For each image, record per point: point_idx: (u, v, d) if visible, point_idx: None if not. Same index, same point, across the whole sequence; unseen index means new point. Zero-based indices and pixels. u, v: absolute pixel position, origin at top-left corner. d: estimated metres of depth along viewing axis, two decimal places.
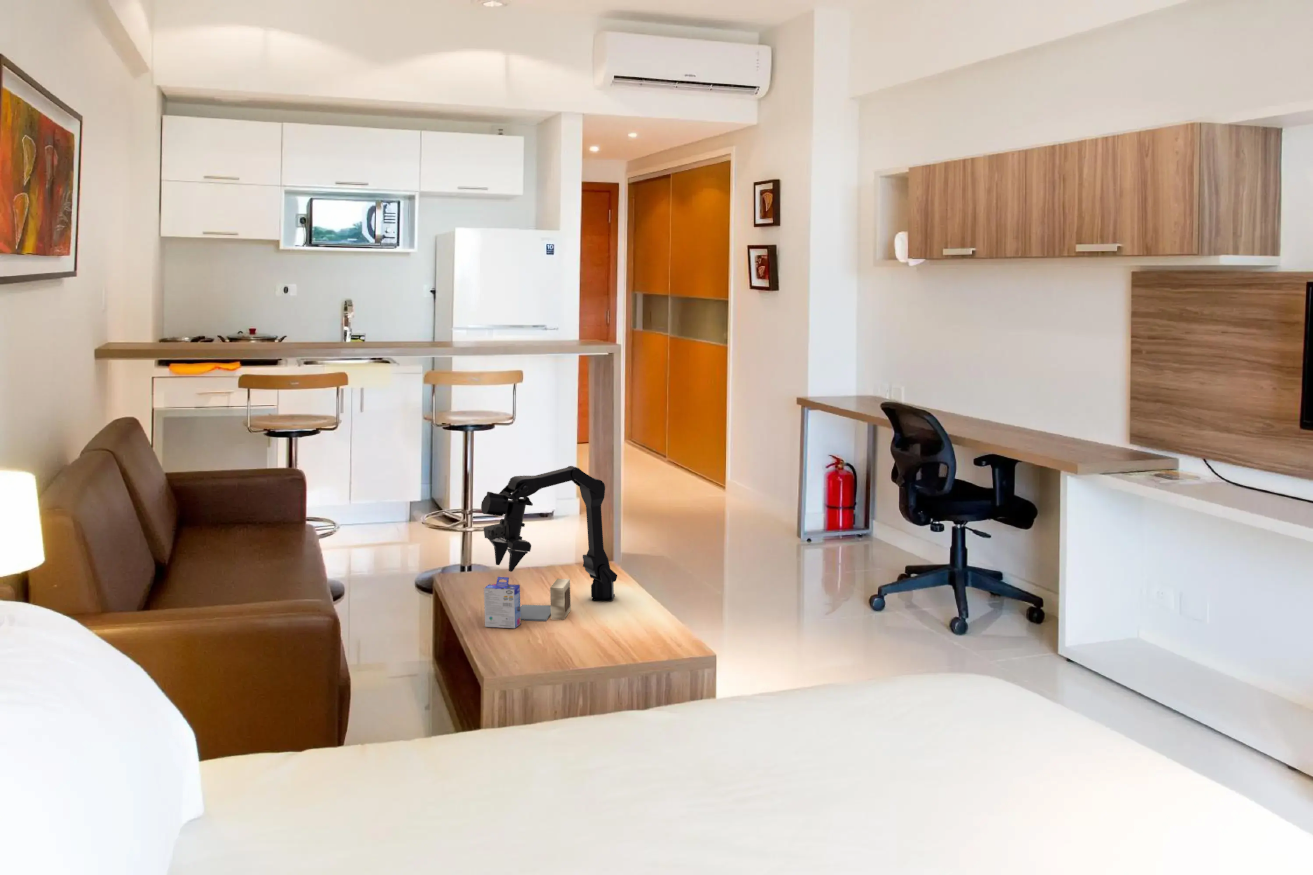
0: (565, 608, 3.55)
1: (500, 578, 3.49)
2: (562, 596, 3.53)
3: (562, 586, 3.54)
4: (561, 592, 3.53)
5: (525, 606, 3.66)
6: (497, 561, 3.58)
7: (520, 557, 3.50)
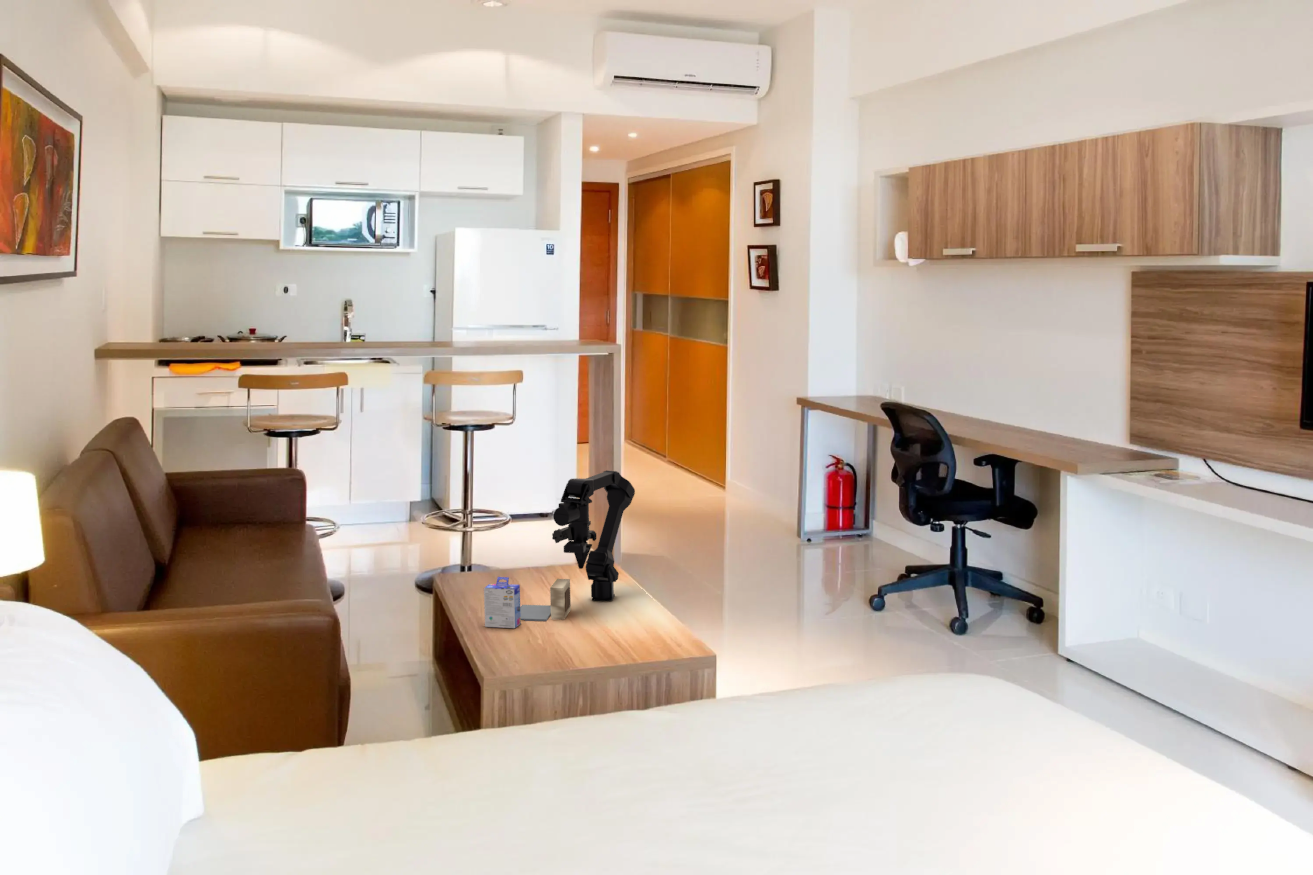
0: (565, 608, 3.55)
1: (500, 578, 3.49)
2: (562, 596, 3.53)
3: (562, 586, 3.54)
4: (561, 592, 3.53)
5: (525, 606, 3.66)
6: None
7: (584, 555, 3.60)
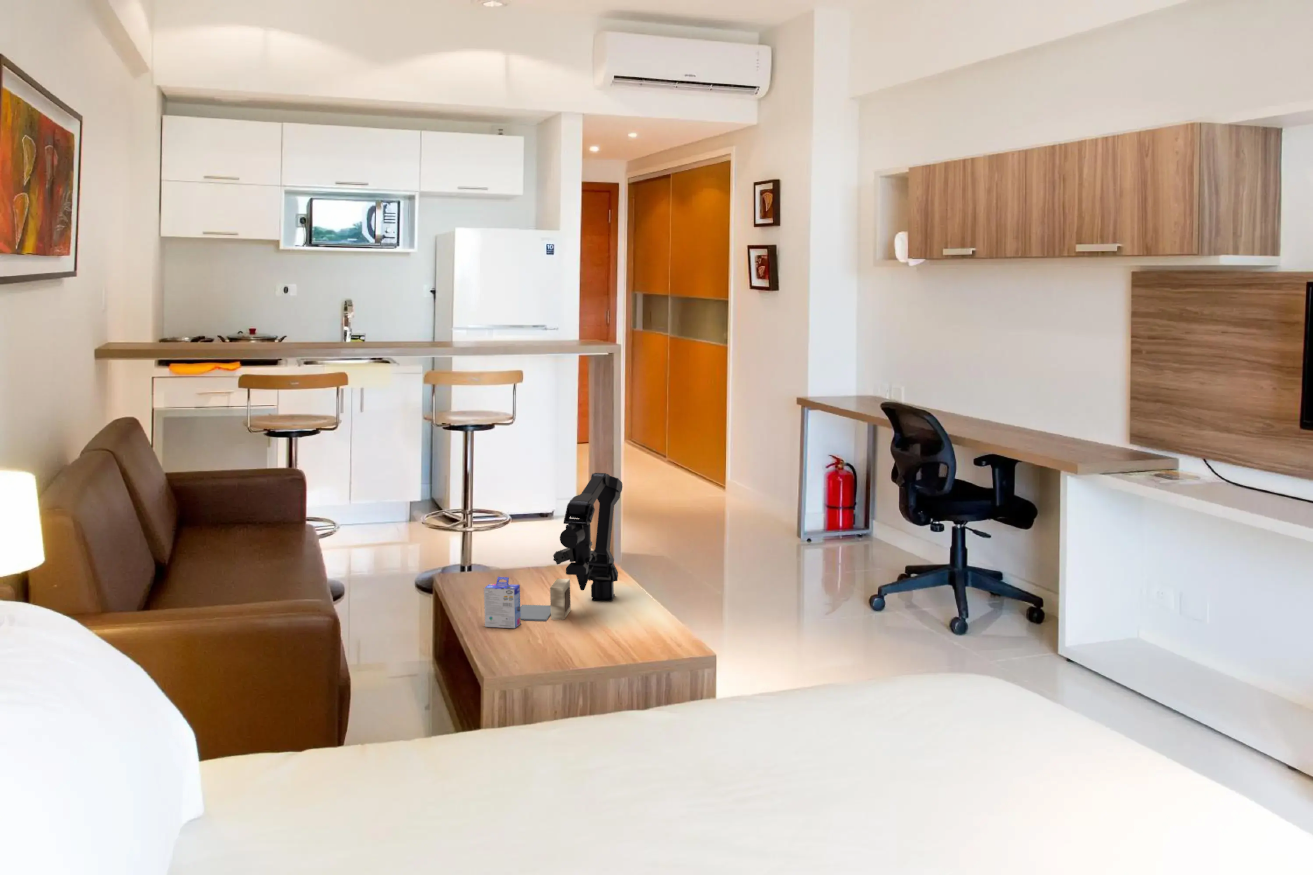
0: (565, 608, 3.55)
1: (500, 578, 3.49)
2: (562, 596, 3.53)
3: (562, 586, 3.54)
4: (561, 592, 3.53)
5: (525, 606, 3.66)
6: None
7: (586, 576, 3.54)
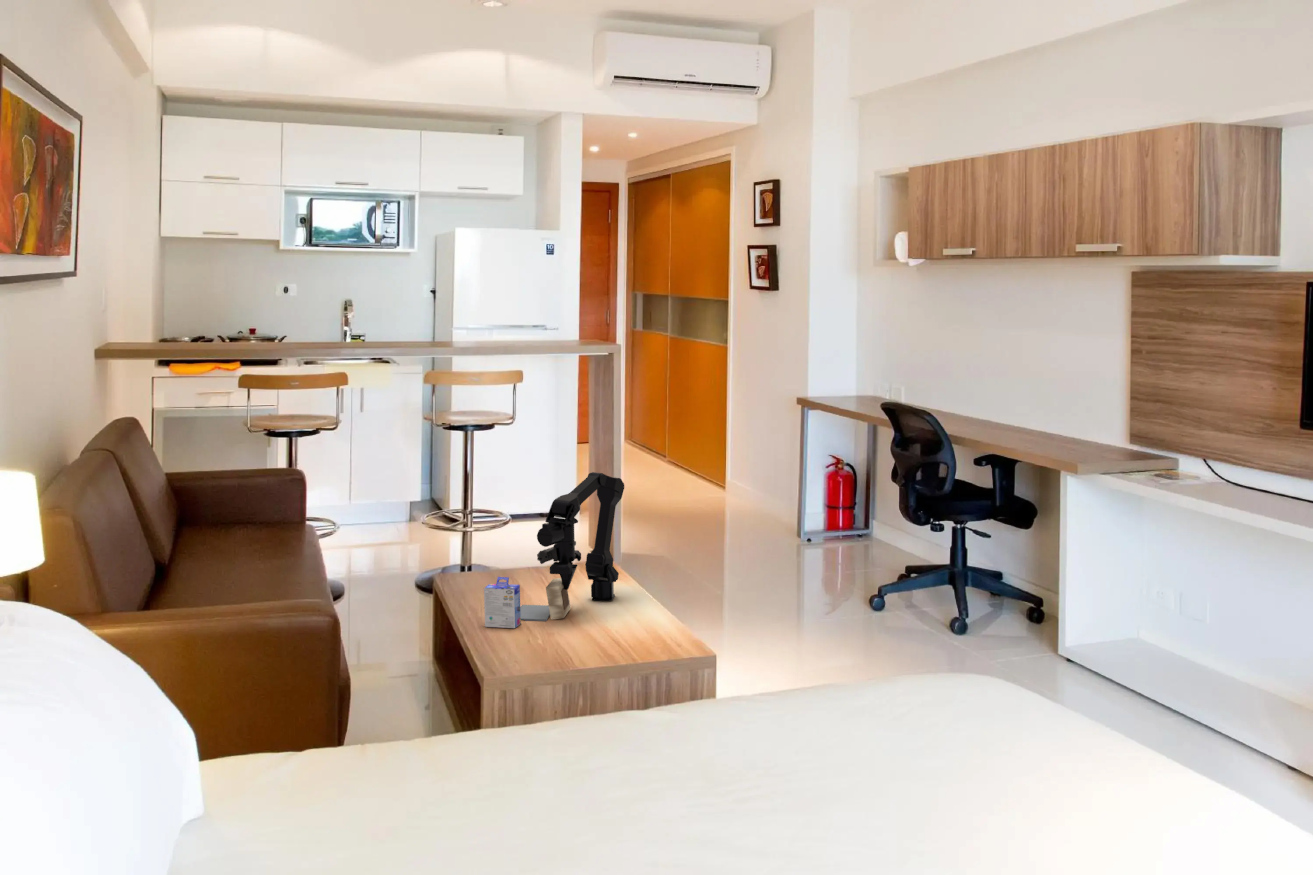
0: (564, 606, 3.55)
1: (500, 578, 3.49)
2: (559, 594, 3.53)
3: (557, 585, 3.54)
4: (557, 591, 3.53)
5: (525, 606, 3.66)
6: None
7: (570, 575, 3.55)
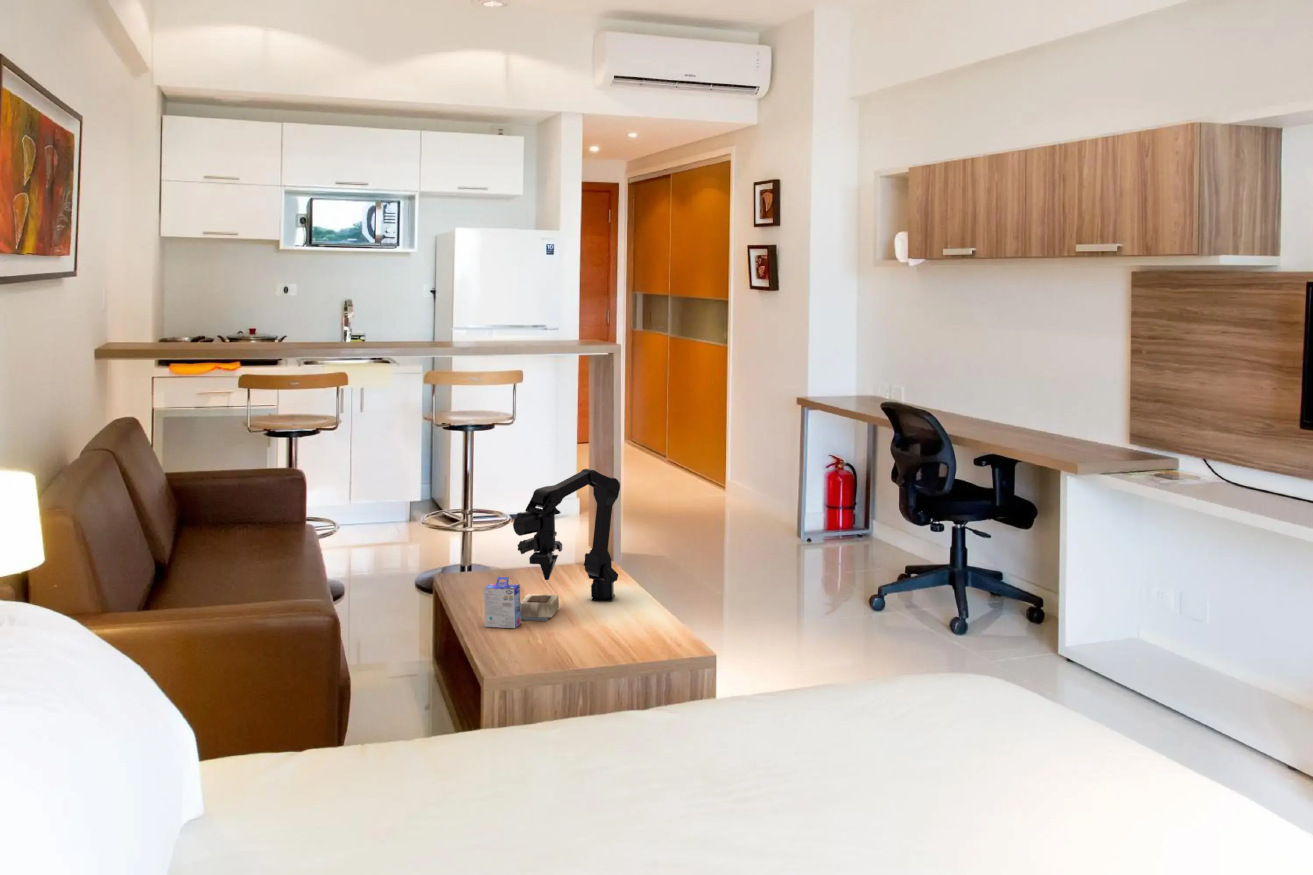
0: (543, 602, 3.56)
1: (500, 578, 3.49)
2: (527, 604, 3.55)
3: None
4: (523, 605, 3.55)
5: None
6: None
7: (550, 566, 3.55)
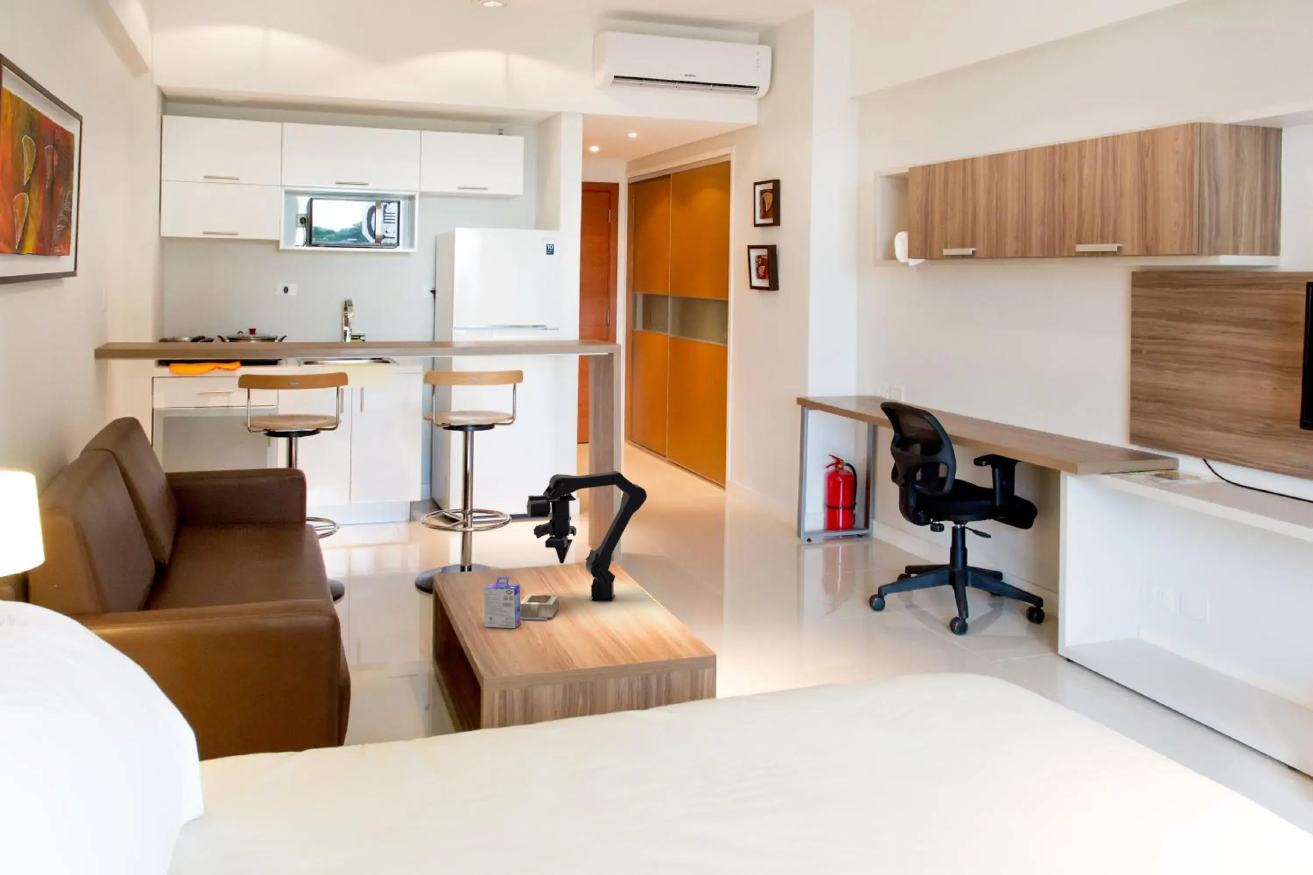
0: (543, 602, 3.56)
1: (500, 578, 3.49)
2: (527, 604, 3.55)
3: None
4: (523, 605, 3.55)
5: None
6: None
7: (565, 549, 3.66)
